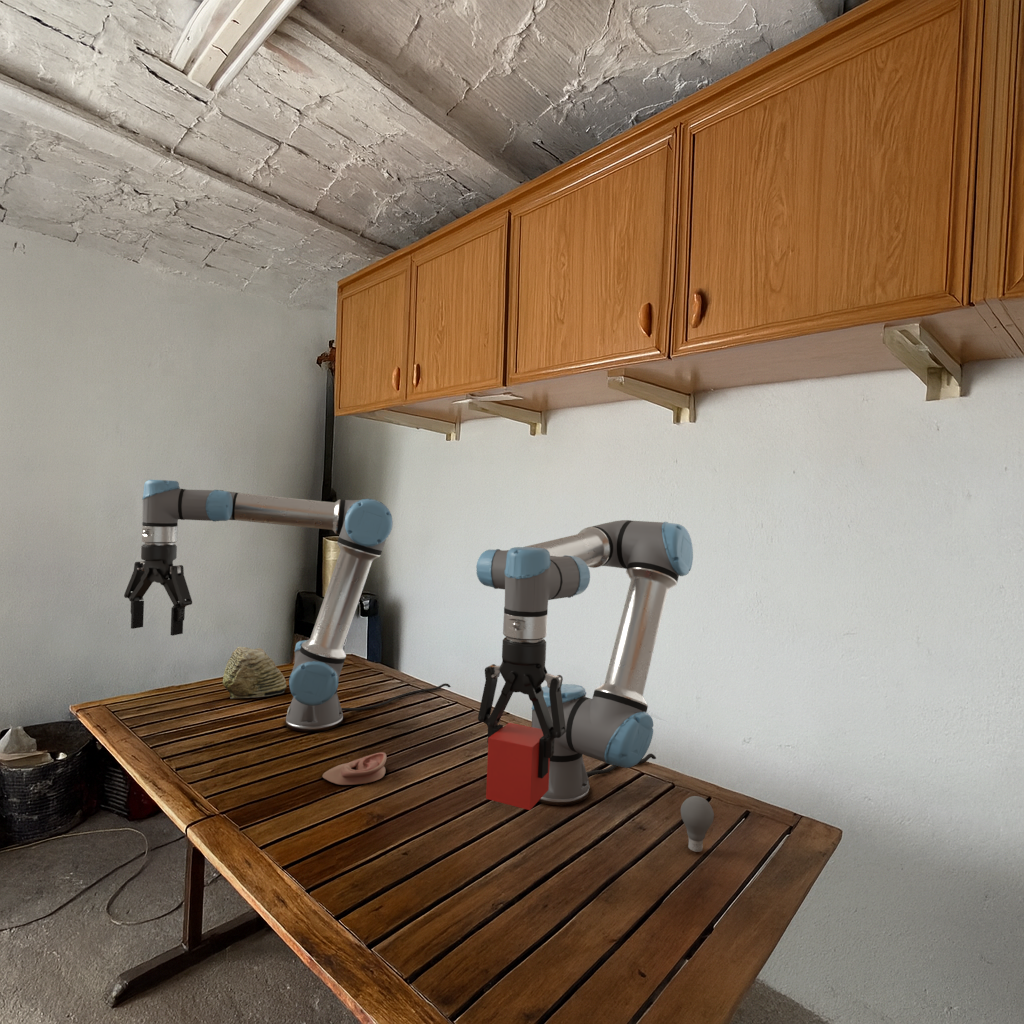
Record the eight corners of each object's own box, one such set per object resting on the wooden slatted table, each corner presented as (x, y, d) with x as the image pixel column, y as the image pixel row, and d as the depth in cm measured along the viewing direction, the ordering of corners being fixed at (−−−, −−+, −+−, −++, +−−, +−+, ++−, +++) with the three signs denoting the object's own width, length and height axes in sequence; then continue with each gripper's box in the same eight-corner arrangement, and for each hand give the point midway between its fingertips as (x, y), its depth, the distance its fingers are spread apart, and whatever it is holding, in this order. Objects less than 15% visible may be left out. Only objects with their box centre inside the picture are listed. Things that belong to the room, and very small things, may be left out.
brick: (485, 798, 107) (488, 737, 107) (506, 779, 114) (509, 722, 114) (529, 810, 103) (532, 747, 103) (548, 789, 111) (551, 730, 111)
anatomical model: (316, 763, 140) (340, 744, 151) (315, 781, 140) (339, 761, 151) (372, 771, 137) (392, 751, 149) (371, 789, 138) (391, 768, 149)
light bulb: (674, 841, 122) (676, 790, 121) (704, 841, 122) (707, 790, 122) (685, 859, 116) (688, 805, 115) (717, 859, 116) (719, 805, 116)
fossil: (218, 695, 195) (220, 647, 195) (278, 685, 208) (279, 640, 207) (228, 703, 189) (230, 653, 188) (289, 692, 201) (290, 645, 201)
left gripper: (109, 540, 154) (106, 627, 155) (183, 548, 145) (180, 640, 145) (137, 539, 161) (135, 622, 162) (210, 546, 152) (207, 634, 152)
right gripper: (460, 634, 109) (455, 764, 110) (575, 650, 101) (569, 792, 101) (480, 626, 116) (475, 749, 117) (589, 641, 107) (584, 774, 108)
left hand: (156, 631), depth 153 cm, fingers open, 13 cm apart
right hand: (519, 769), depth 109 cm, fingers closed on brick, 8 cm apart
